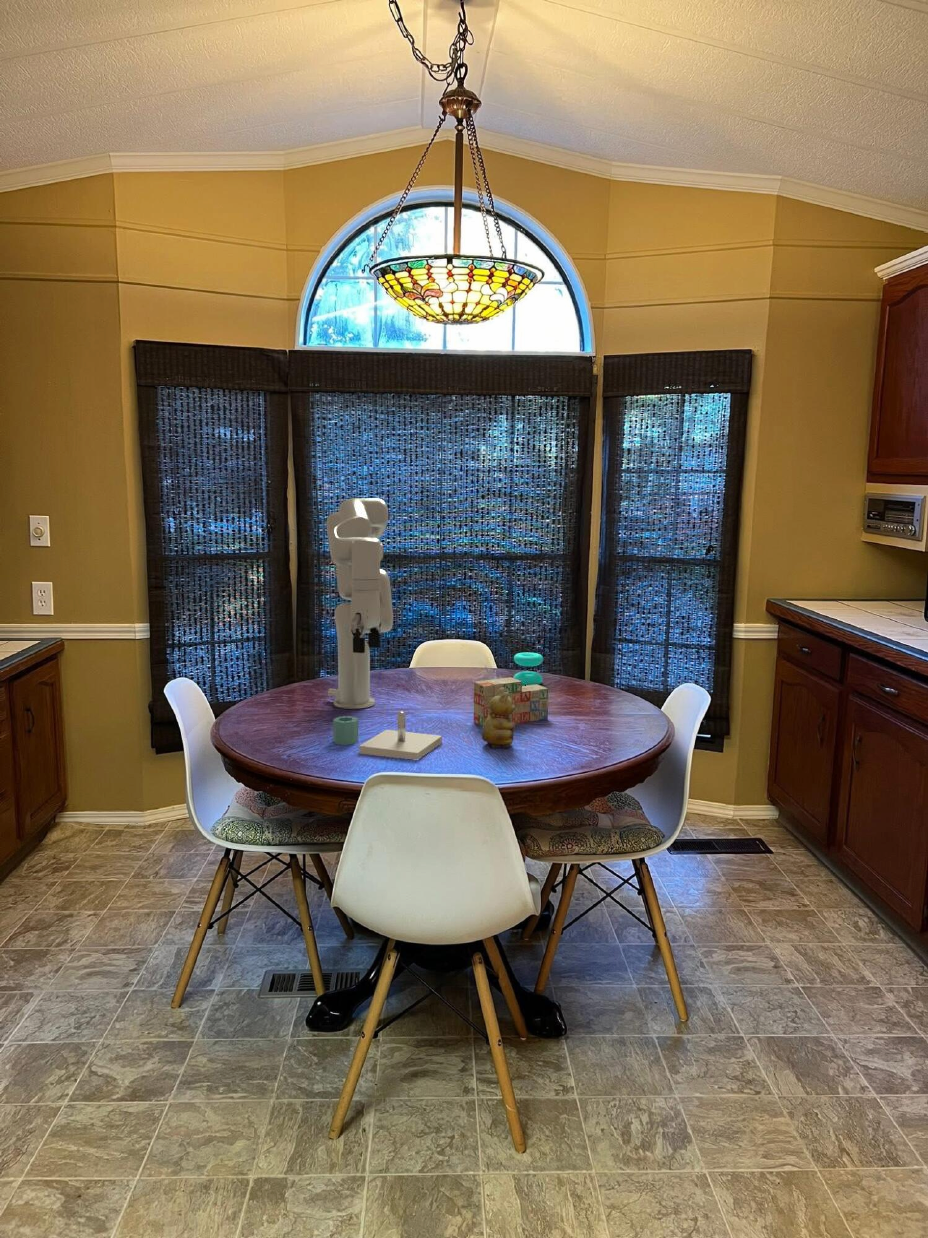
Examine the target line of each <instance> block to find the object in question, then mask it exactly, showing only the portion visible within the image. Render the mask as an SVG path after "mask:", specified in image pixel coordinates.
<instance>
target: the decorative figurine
mask: <svg viewBox="0 0 928 1238" xmlns="http://www.w3.org/2000/svg"><path fill="white" fill-rule="evenodd" d="M504 690H505V689H504V688H500V689H499V690H498V691H497V692H496V695H495V697H493V698H492V699H491V701H490V710H491V711H490V713H489V715H488V717H487V720H486V721H485V723H484V725H483V727H482V733H481V738H482V741H483V742H487V743H488V744H490V746H491V748H510V747H511V745H512V744H513V741H514V731H515V730H516V729H515V728H516V724H514V723H512V722H511V720H510V718H509V715H510V714H512V713H513V711H514V710H515V705H514V702H513V701H512V699H511V698H510V697H509V692H504Z"/></svg>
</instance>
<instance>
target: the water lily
mask: <svg viewBox="0 0 928 1238" xmlns="http://www.w3.org/2000/svg"><path fill="white" fill-rule="evenodd" d="M484 668H485V673H486V675H487V680H493V679H500V678H504V677H503V676H502V675H500V676H498V677H497V669H495V670H494V669H493V667H492V666H490V669H489V668H488V667H487V665H484Z"/></svg>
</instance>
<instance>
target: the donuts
mask: <svg viewBox="0 0 928 1238" xmlns="http://www.w3.org/2000/svg"><path fill="white" fill-rule="evenodd" d="M513 661H514V662H515V663H516V664H517V665H519V666H522V667H536V666H539V665H541V664H542V663H543V662H544V657H543V656H542V654H540V653H537V652H527V651H526V652H519V653H516V654H515V655H514V656H513ZM513 678H514V679H517V680H519V681H522V686H525V685H536V684H537V685H540V684H542V682H543V680H544V679H543V676H542V675H541V674H540V673H538V672H537V671H536V672H535V671H531V670H530V671H525V670H524V671H519V672H517V673H515V674H514V675H513Z"/></svg>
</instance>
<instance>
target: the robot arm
mask: <svg viewBox="0 0 928 1238" xmlns="http://www.w3.org/2000/svg"><path fill="white" fill-rule="evenodd" d="M388 523H389V509H388V506H387V504H386V502H385V501H384V500H383V499H381V498H370V497H369V498H367V497H365V498H360V497H359V498H358V497H357V498H356V497H355V498H353V497H352V498H347V499H345V500H344V501H342V502H341V503H340V505H339V507H338V511H337V512H336V511H335V512H332V513H331V514H329V515H328V517H327V519H326V534H327V537H328V538H327V539H328V547H329V553H330V558H331V560H332V562H333V563H334V564H335V566H336V578H337V581H336V582H337V590H338V594H339V596H340V597H341V598H342V599H344V600H347V602H341V603H340V604H338V605H337V606H336V608H335V609H334V622H335V628H336V636H337V659H338V660H337V661H338V662H337V665H338V667H337V670H338V674H337V675H338V679H337V681H338V683H337V684H338V686H337V687H338V688H337V689H335V688H328V690H327V696H329V697H335V699H334V700H333V706H335V707H336V708H339V709H345V710H357V709H358V710H359V709H366V708H370V707H372V706H374V705H376V700H375V699H374V698H373V697H371V684H370V683H371V682H370V681H371V680H370V679H371V673H370V671H371V670H370V668H371V667H370V663H371V661H370V660H371V659H370V658H371V657H370V654H371V653H370V652H371V651H370V650H371V649H370V648H375V649H379V648H381V633H386V632H390V631H391V629H392V628H393V626H394V613H393V612H394V611H393V601H392V590H391V582H390V577H389V574H388V572H387V571H386V570H384V569H382V568H381V561H382V560H383V558H384V544H383V543H381V542H382V541H380V539H379V538H382V536H383V535H384V533H385V530H386V527H387V525H388ZM365 634H368V635H367V637H368V642H367V641H366V638H365V637H364V635H365Z"/></svg>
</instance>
